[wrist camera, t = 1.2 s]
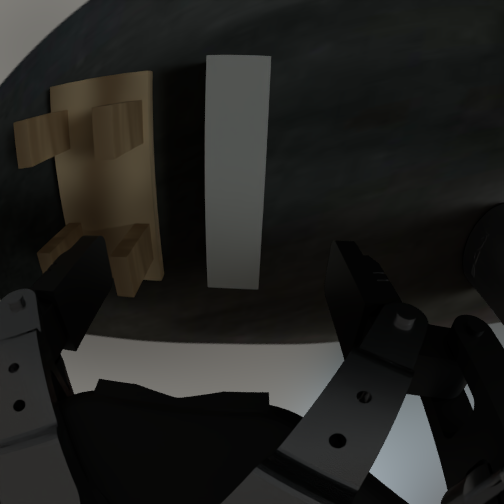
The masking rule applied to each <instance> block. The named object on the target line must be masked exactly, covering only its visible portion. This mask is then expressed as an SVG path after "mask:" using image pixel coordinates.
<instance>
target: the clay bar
mask: <svg viewBox="0 0 504 504" xmlns="http://www.w3.org/2000/svg"><path fill="white" fill-rule="evenodd" d="M270 69H271V56H253V55H207V61H206V96H205V219H206V256H207V283H208V287H214V288H234V289H258V286H259V269H260V253H261V236H262V219H263V202H264V184H265V166H266V148H267V129H268V109H269V89H270Z"/></svg>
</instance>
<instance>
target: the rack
mask: <svg viewBox="0 0 504 504" xmlns="http://www.w3.org/2000/svg"><path fill="white" fill-rule="evenodd" d="M152 79H153V71H141V72H133V73H125V74H117V75H111V76H104V77H98V78H92V79H87V80H82V81H76V82H72V83H67V84H62V85H58V86H54V87H50V102H51V113H48V114H44V115H40V116H36V117H32V118H29V119H25V120H21V121H18V122H14V134H15V144H16V152H17V160H18V167H19V169H20V168H27V167H33V166H35V165H37V164H39V163H41V162H43V161H45V160H47V159H49V158H51V157H53V156H55V163H56V171H57V178H58V185H59V191H60V197H61V203H62V209H63V214H64V219H65V224H66V226H65V227H64V228H63V229H62V230H61V231H59V232H58V233H57V234H56V235H55V236H54V237H53V238H52V239H51V240H50V241H49V242H48V243H47V244H45V245H44V246H43V247H42V248H41V249H40V250H39V251H38V252H37V255H38V259H39V262H40V266H41V269H42V272H43V273H44V272H45V271H47V269H48V268H49V267H50V265H51V264H53V262H54V261H55V260H56V259H57V258H58V257H59V256H60V255H61V254H62V253H64V252H66V251H67V250H69V249H70V248H71V247H72V246H73V245H74V244H75V243H76V242H77V241H78V240H79V239H80V238H81V237H82V236H83V235H99V236H103V237H104V239H105V242H106V247H107V253H108V258H109V262H110V267H111V272H112V278H114V282H115V286H116V291H117V295H118V296H124V297H135V295H136V293H137V291H138V289H139V287H140V285H141V283H142V281H143V280H156V281H161V280H162V278H163V276H164V268H163V259H162V250H161V241H160V231H159V220H158V209H157V196H156V181H155V164H154V142H153V99H152Z"/></svg>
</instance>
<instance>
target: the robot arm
mask: <svg viewBox="0 0 504 504" xmlns="http://www.w3.org/2000/svg"><path fill="white" fill-rule="evenodd" d="M463 269H464V273H465V276H466V278H467V279H468V281H469V282H470V283H471V284H472V286H473V287H474V288H475V289H476V290H477V292H478V293H479V294H480V295H481V297H482V298H483V299H484V300H485V302H486V303H487V304H488V306H489V307H490V308H491V309H492V311H493V312H494V313H495V315H496V316H497V317H498V319H499V320H500V321H501V323H502V324H503V325H504V204H501V205H498V206H496V207H494V208H492V209H491V210H489V211H488V212H487V213H486V214H485V215H484V216H483V217H482V218H481V219H480V220H479V222H478V223H477V224H476V225H475V227H474V229H473V230H472V232H471V234H470V236H469V238H468V241H467V243H466V246H465V251H464V255H463ZM111 285H112V272H111V267H110V262H109V258H108V253H107V247H106V242H105V239H104V237H103V236H99V235H83V236H82V237H81V238H80V239H79V240H78V241H77V242H76V243H75V244H74V245H73V246H72V247H71V248H70V249H69V250H67V251H66V252H64V253H62V254H61V255H60V256H59V257H58V258H57V259H56V260H55V261H54V262H53V264H51V265H50V267H49V268H48V269H47V271H45V272H44V273H43V275H42V276H41V277H40V278H39V279H38V280H37V281H36V283H35V284H34V285H33V286H32V287H31V289H20V290H16V291H13V292H11V293H9V294H8V295H6V296H5V297H4V298H3V299H2V300H1V301H0V504H409V503H407V502H406V501H405V500H403V499H402V498H401V497H399V496H398V495H397V494H396V493H394V492H393V491H392V490H391V489H389V488H388V487H387V486H385V485H384V484H383V483H381V482H380V481H379V480H378V479H377V478H376V477H374V476H373V475H372V474H371V473H369V470H370V469H371V467H372V465H373V463H374V461H375V459H376V458H377V456H378V454H379V452H380V449H381V448H382V446H383V444H384V442H385V440H386V438H387V436H388V434H389V431H390V430H391V427H392V425H393V423H394V421H395V419H396V417H397V414H398V412H399V410H400V408H401V405H402V403H403V401H404V398H405V396H406V394H411V395H418V396H420V397H421V400H422V403H423V406H424V409H425V412H426V415H427V418H428V421H429V424H430V427H431V431H432V434H433V437H434V441H435V444H436V448H437V451H438V455H439V458H440V462H441V466H442V469H443V473H444V477H445V481H446V485H447V489H448V491H447V492H446V493H445V495H444V496H443V498H442V500H441V504H504V348H503V347H502V345H501V343H500V342H499V340H498V339H497V337H496V336H495V334H494V332H493V331H492V329H491V328H490V327H489V326H488V324H487V323H485V322H484V321H483V320H481V319H479V318H477V317H475V316H471V315H461V316H458V317H457V318H456V319H455V320H454V322H453V325H452V327H451V328H447V327H441V326H435V325H430V324H428V320H427V317H426V316H425V315H424V313H423V312H422V311H421V310H419V309H418V308H416V307H414V306H412V305H410V304H406V303H402V301H401V299H400V298H399V296H398V294H397V293H396V291H395V289H394V288H393V286H392V284H391V283H390V281H388V278H387V276H386V275H385V274H384V271H383V270H382V268H381V267H380V265H379V263H377V262H376V261H375V260H373V259H372V258H371V257H369V256H363V255H362V253H361V251H360V250H359V248H358V246H357V245H356V243H355V242H354V241H333V242H332V244H331V248H330V254H329V260H328V266H327V272H326V278H325V297H326V300H327V303H328V307H329V310H330V313H331V316H332V319H333V323H334V326H335V329H336V333H337V336H338V339H339V343H340V346H341V350H342V353H343V357H344V362H343V363H342V365H341V366H340V368H339V369H338V371H337V372H336V374H335V375H334V376H333V378H332V379H331V381H330V382H329V383H328V385H327V386H326V388H325V389H324V390H323V392H322V393H321V395H320V396H319V397H318V399H317V400H316V401H315V403H314V404H313V405H312V407H311V408H310V409H309V411H308V412H307V413H306V414H305V416H304V417H301V416H299V415H298V414H296V413H293V412H291V411H289V410H286V409H282V408H280V407H276V406H272V405H269V393H268V392H267V393H266V392H265V393H264V392H262V393H261V392H260V393H257V392H255V393H254V392H219V393H212V394H206V395H199V396H192V397H184V398H176V397H172V396H169V395H166V394H163V393H159V392H157V391H153V390H151V389H148V388H145V387H143V386H140V385H137V384H130V383H123V382H116V381H110V380H104V379H99V381H98V383H97V386H96V388H95V391H87V392H82V393H78V394H74V392H73V389H72V386H71V383H70V380H69V377H68V374H67V371H66V367H65V364H64V361H63V358H62V356H61V354H60V353H61V351H62V350H63V349H65V350H71V351H77V348H78V347H79V345H80V343H81V341H82V339H83V337H84V336H85V334H86V332H87V330H88V328H89V326H90V324H91V323H92V321H93V319H94V317H95V315H96V314H97V312H98V310H99V308H100V307H101V305H102V303H103V301H104V300H105V298H106V296H107V294H108V293H109V291H110V289H111ZM466 384H468V386H469V388H470V390H471V393H472V395H473V398H474V410H473V409H472V407H471V404H470V402H469V399H468V397H467V395H466V393H465V390H464V388H465V386H466Z"/></svg>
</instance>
